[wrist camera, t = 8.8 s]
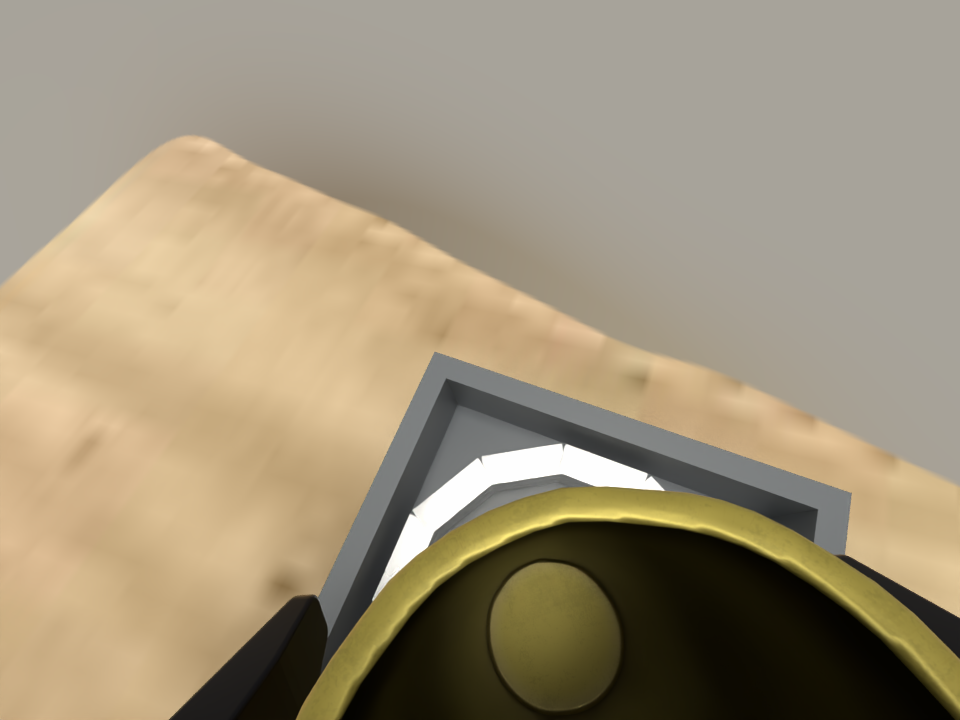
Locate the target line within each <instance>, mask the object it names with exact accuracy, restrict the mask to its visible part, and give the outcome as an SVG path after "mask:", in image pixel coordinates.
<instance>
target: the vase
mask: <svg viewBox="0 0 960 720" xmlns="http://www.w3.org/2000/svg"><path fill="white" fill-rule="evenodd" d="M296 720H960V659H959V658H958V657H957V656H956V655H955V654H954V653H953V652H952V651H951V650H950V649H949V648H948V647H947V646H946V645H945V644H944V643H943V642H942V641H941V640H940V639H939V638H938V637H937V636H936V635H935V634H934V633H933V632H932V631H931V630H930V629H929V628H928V627H927V626H926V625H925V624H924V623H923V622H922V621H921V620H920V619H919V618H918V617H917V616H916V615H915V614H914V613H913V612H912V611H911V610H909V609H908V608H907V607H906V606H904V605H903V604H902V603H901V602H899V601H898V600H897V599H896V598H895V597H893V596H892V595H891V594H890V593H888V592H887V591H886V590H885V589H884V588H882V587H881V586H880V585H879V584H877V583H876V582H875V581H873V580H872V579H870V578H868V577H867V576H865V575H864V574H862V573H861V572H859V571H858V570H856V569H855V568H853V567H852V566H850V565H848V564H847V563H845V562H844V561H842V560H841V559H839V558H838V557H836V556H835V555H833V554H831V553H830V552H828V551H826V550H825V549H823V548H821V547H820V546H818V545H816V544H815V543H813V542H811V541H810V540H808V539H807V538H805V537H803V536H802V535H800V534H798V533H797V532H795V531H793V530H791V529H789V528H787V527H785V526H783V525H781V524H779V523H777V522H775V521H773V520H771V519H769V518H767V517H765V516H763V515H761V514H759V513H757V512H755V511H753V510H750V509H747V508H744V507H741V506H738V505H735V504H732V503H729V502H727V501H724V500H720V499H715V498H711V497H706V496H701V495H696V494H692V493H686V492H674V491H662V490H650V489H637V488H624V487H610V486H593V487H568V488H558V489H555V490H551V491H547V492H543V493H539V494H535V495H531V496H527V497H524V498H521V499H518V500H516V501H513V502H510V503H508V504H505V505H503V506H500V507H497V508H495V509H492V510H489V511H487V512H486V513H484V514H482V515H480V516H478V517H476V518H474V519H473V520H471V521H469V522H467V523H465V524H463V525H461V526H459V527H458V528H456V529H454V530H452V531H450V532H449V533H447V534H446V535H445V536H443V537H442V538H440V539H439V540H438V541H436V542H435V543H433V544H432V545H430V546H429V547H428V548H426V549H425V550H423V551H422V552H420V553H419V554H418V555H416V556H415V557H414V558H413V559H412V560H411V561H410V562H409V563H407V564H406V565H405V566H404V567H403V568H402V569H401V570H400V571H399V572H398V573H397V574H396V575H394V576H393V577H392V578H391V579H390V580H389V581H388V582H387V584H386V585H385V586H384V588H383V589H382V590H381V592H380V593H379V594H378V596H377V597H376V598H375V600H374V601H373V602H372V603H371V605H370V606H369V607H368V609H367V610H366V611H365V613H364V614H363V615H362V617H361V618H360V619H359V621H358V622H357V623H356V625H355V626H354V628H353V629H352V630H351V632H350V633H349V635H348V636H347V637H346V639H345V640H344V642H343V643H342V644H341V646H340V647H339V648H338V650H337V651H336V653H335V654H334V655H333V657H332V658H331V660H330V661H329V663H328V664H327V666H326V668H325V669H324V671H323V672H322V674H321V676H320V677H319V679H318V680H317V682H316V684H315V685H314V687H313V688H312V690H311V692H310V693H309V695H308V696H307V698H306V700H305V701H304V703H303V705H302V707H301V709H300V711H299V714H298V716H297V718H296Z"/></svg>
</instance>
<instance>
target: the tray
mask: <svg viewBox="0 0 960 720" xmlns="http://www.w3.org/2000/svg"><path fill="white" fill-rule="evenodd" d="M555 444H562V448H563V451H564V448H565V445H566V444H567V445H570V446H573V447H576V448H578V449H581V450H584V451H587V452H589V453H592V454H595V455H598V456H600V457H603V458H606V459H609V460H611V461H614V462H617V463H620V464H622V465H625V466H628V467H630V468H633V469H636V470H639V471H641V472H644V473H647V477H646V480H647V479H648V478H650V477H651V476H652V477H653V479H654V480H655V481H656V482H657V483H658V484H659V485H660V486H661V487H662V488H663V489H664V490H665V491H674V492H686V493H692V494H696V495H701V496H706V497H711V498H715V499H720V500H724V501H727V502H729V503H732V504H735V505H738V506H741V507H744V508H747V509H750V510H753V511H755V512H757V513H759V514H761V515H763V516H765V517H767V518H769V519H771V520H773V521H775V522H777V523H779V524H781V525H783V526H785V527H787V528H789V529H791V530H793V531H795V532H797V533H798V534H800V535H802V536H803V537H805V538H807V539H808V540H810V541H811V542H813V543H815V544H816V545H818V546H820V547H821V548H823V549H825V550H826V551H828V552H830V553H831V554H833V555H838V554H842V555H845V548H846V539H847V530H848V521H849V512H850V503H851V494H852V493H849V492H846V491H843V490H841V489H838V488H835V487H832V486H829V485H826V484H823V483H820V482H817V481H814V480H811V479H808V478H805V477H802V476H799V475H796V474H793V473H790V472H787V471H785V470H782V469H779V468H776V467H773V466H770V465H767V464H764V463H761V462H758V461H755V460H752V459H749V458H746V457H743V456H740V455H737V454H734V453H732V452H729V451H726V450H723V449H720V448H717V447H714V446H711V445H708V444H705V443H702V442H699V441H696V440H693V439H690V438H687V437H684V436H681V435H679V434H676V433H673V432H670V431H667V430H664V429H661V428H658V427H655V426H652V425H649V424H646V423H643V422H640V421H637V420H634V419H631V418H628V417H626V416H623V415H620V414H617V413H614V412H611V411H608V410H605V409H602V408H599V407H596V406H593V405H590V404H587V403H584V402H581V401H578V400H575V399H572V398H570V397H567V396H564V395H561V394H558V393H555V392H552V391H549V390H546V389H543V388H540V387H537V386H534V385H531V384H528V383H525V382H522V381H519V380H517V379H514V378H511V377H508V376H505V375H502V374H499V373H496V372H493V371H490V370H487V369H484V368H481V367H478V366H475V365H472V364H469V363H466V362H464V361H461V360H458V359H455V358H452V357H449V356H446V355H443V354H440V353H437V352H434V355H433V357H432V359H431V361H430V363H429V365H428V367H427V369H426V371H425V374H424V376H423V378H422V380H421V382H420V384H419V386H418V388H417V390H416V393H415V395H414V397H413V399H412V401H411V403H410V405H409V407H408V409H407V412H406V414H405V416H404V418H403V420H402V422H401V424H400V426H399V428H398V431H397V433H396V435H395V437H394V439H393V441H392V443H391V445H390V447H389V449H388V452H387V454H386V456H385V458H384V460H383V462H382V464H381V466H380V468H379V471H378V473H377V475H376V477H375V479H374V481H373V483H372V485H371V487H370V490H369V492H368V494H367V496H366V498H365V500H364V502H363V504H362V506H361V509H360V511H359V513H358V515H357V517H356V519H355V521H354V523H353V525H352V528H351V530H350V532H349V534H348V536H347V538H346V540H345V542H344V544H343V546H342V549H341V551H340V553H339V555H338V557H337V559H336V561H335V563H334V565H333V568H332V570H331V572H330V574H329V576H328V578H327V580H326V582H325V584H324V587H323V589H322V591H321V593H320V595H319V597H318V599H319V601H320V604H321V607H322V610H323V613H324V616H325V619H326V622H327V626H328V639H327V644H326V649H325V654H324V659H323V664H322V669H321V674H322V672H323V671H324V669H325V668H326V666H327V664H328V663H329V661H330V660H331V658H332V657H333V655H334V654H335V653H336V651H337V650H338V648H339V647H340V646H341V644H342V643H343V642H344V640H345V639H346V637H347V636H348V635H349V633H350V632H351V630H352V629H353V628H354V626H355V625H356V623H357V622H358V621H359V619H360V618H361V617H362V615H363V614H364V613H365V611H366V610H367V609H368V607H369V606H370V605H371V603H372V602H373V601H372V599H373V597H374V595H375V592H376V590H377V588H378V586H379V583H380V581H381V579H382V576H383V574H384V572H385V570H386V567H387V565H388V563H389V560H390V558H391V556H392V553H393V551H394V549H395V547H396V544H397V542H398V540H399V537H400V535H401V533H402V531H403V528H404V526H405V524H406V521H407V519H408V517H409V514H411V515H414V516H416V515H415V513H414V512H413V511H412V510H414V509H415V508H416V507H417V506H419V505H420V504H421V503H422V502H424V501H425V500H426V499H427V498H429V497H430V496H431V495H432V494H433V493H435V492H436V491H437V490H438V489H440V488H441V487H442V486H443V485H445V484H446V483H447V482H448V481H450V480H451V479H452V478H453V477H455V476H456V475H457V474H458V473H460V472H461V471H462V470H463V469H465V468H466V467H467V466H468V465H470V464H471V463H472V462H473V461H475V460H476V459H477V458H478V459H479V460H480V461H481V463H482V456H486V455H493V454H499V453H505V452H511V451H518V450H524V449H530V448H537V447H543V446H549V445H555ZM482 464H483V463H482ZM568 487H569V486H566V485H563V484H561V483H553V484H547V485H540V486H534V487H527V488H521V489H515V490H508V491H502V492H496V493H494V494H493V495H492V496H490V497H489V498H488V499H487V500H486V501H484V502H483V503H482V504H481V505H480V506H478V507H477V508H476V509H475V510H474V511H472V512H471V513H470V514H469V515H467V516H466V517H465V518H464V519H463V520H461V521H460V522H459V523H458V524H457V525H455V526H454V527H453V528H452V529H451V530H449V531H448V532H447V533H449V532H450V531H452V530H454V529H456V528H458V527H459V526H461V525H463V524H465V523H467V522H469V521H471V520H473V519H474V518H476V517H478V516H480V515H482V514H484V513H486V512H487V511H489V510H492V509H495V508H497V507H500V506H503V505H505V504H508V503H510V502H513V501H516V500H518V499H521V498H524V497H527V496H531V495H535V494H539V493H543V492H547V491H551V490H555V489H558V488H568ZM416 517H417V516H416ZM447 533H446V534H447ZM446 534H444V536H445V535H446ZM321 674H320V676H321Z"/></svg>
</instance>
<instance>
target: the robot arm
mask: <svg viewBox="0 0 960 720" xmlns="http://www.w3.org/2000/svg"><path fill="white" fill-rule="evenodd" d="M835 556H836V557H838V558H839V559H841V560H842V561H844V562H845V563H847V564H848V565H850V566H852V567H853V568H855V569H856V570H858V571H859V572H861V573H862V574H864V575H865V576H867V577H868V578H870V579H872V580H873V581H875V582H876V583H877V584H879V585H880V586H881V587H882V588H884V589H885V590H886V591H887V592H888V593H890V594H891V595H892V596H893V597H895V598H896V599H897V600H898V601H899V602H901V603H902V604H903V605H904V606H906V607H907V608H908V609H909V610H911V611H912V612H913V613H914V614H915V615H916V616H917V617H918V618H919V619H920V620H921V621H922V622H923V623H924V624H925V625H926V626H927V627H928V628H929V629H930V630H931V631H932V632H933V633H934V634H935V635H936V636H937V637H938V638H939V639H940V640H941V641H942V642H943V643H944V644H945V645H946V646H947V647H948V648H949V649H950V650H951V651H952V652H953V653H954V654H955V655H956V656H957V657H958V658H959V659H960V618H959V617H957V616H955V615H953V614H952V613H950V612H948V611H946V610H944V609H943V608H941V607H939V606H937V605H935V604H934V603H932V602H930V601H928V600H926V599H925V598H923V597H921V596H919V595H917V594H916V593H914V592H912V591H910V590H909V589H907V588H905V587H903V586H901V585H900V584H898V583H896V582H894V581H892V580H891V579H889V578H887V577H885V576H883V575H882V574H880V573H878V572H876V571H874V570H873V569H871V568H869V567H867V566H865V565H864V564H862V563H860V562H858V561H856V560H855V559H853V558H851V557H849V556H846V555H842V554H838V555H835ZM327 639H328V626H327V622H326V619H325V616H324V613H323V610H322V607H321V604H320V601H319V599H318V597H317V596H316V595H300V596H295V597H293V598H292V599H290V600H289V601H288V602H287V603H286V604H285V605H284V606H283V607H282V608H281V609H280V610H279V611H278V612H277V613H276V614H275V615H274V616H273V617H272V618H271V619H270V620H269V621H268V622H267V623H266V624H265V625H264V626H263V627H262V628H261V629H260V630H259V631H258V632H257V633H256V634H255V635H254V636H253V637H252V638H251V639H250V640H249V641H248V642H247V643H246V644H245V645H244V646H243V647H242V648H241V649H240V650H239V651H238V652H237V653H236V654H235V655H234V656H233V657H232V658H231V659H230V660H229V661H228V662H227V663H226V664H225V665H224V666H223V667H222V668H221V669H220V670H219V671H218V672H217V673H216V674H215V675H214V676H213V677H212V678H211V679H209V680H208V681H207V682H206V683H205V684H204V685H203V686H202V687H201V688H200V689H199V690H198V691H197V692H196V693H195V694H194V695H193V696H192V697H191V698H190V699H189V700H188V701H187V702H186V703H185V704H184V705H183V706H182V707H181V708H180V709H179V710H178V711H177V712H176V713H175V714H174V715H173V716H172V717H171V718H170V719H169V720H296V718H297V716H298V714H299V711H300V709H301V707H302V705H303V703H304V701H305V700H306V698H307V696H308V695H309V693H310V692H311V690H312V688H313V687H314V685H315V684H316V682H317V680H318V679H319V677H320V674H321V669H322V664H323V659H324V654H325V649H326V644H327Z"/></svg>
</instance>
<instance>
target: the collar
mask: <svg viewBox="0 0 960 720" xmlns="http://www.w3.org/2000/svg"><path fill="white" fill-rule="evenodd" d="M482 463H483V464H482ZM482 463H481V461H480V460H479V459H478V458H477V459H476V460H475V461H473V462H472V463H471V464H470V465H468V466H467V467H466V468H465V469H463V470H462V471H461V472H460V473H458V474H457V475H456V476H455V477H453V478H452V479H451V480H450V481H448V482H447V483H446V484H445V485H443V486H442V487H441V488H440V489H438V490H437V491H436V492H435V493H433V494H432V495H431V496H430V497H429V498H427V499H426V500H425V501H424V502H422V503H421V504H420V505H419V506H417V507H416V508H415V509H414V510H412V511H413V512H414V513H415V515H416V516H417V517H416V516H414V515H411V514H409V517H408V519H407V521H406V524H405V526H404V528H403V531H402V533H401V535H400V537H399V540H398V542H397V544H396V547H395V549H394V551H393V553H392V556H391V558H390V560H389V563H388V565H387V567H386V570H385V572H384V574H383V576H382V579H381V581H380V583H379V586H378V588H377V590H376V592H375V595H374V597H373V599H372V601H374V600H375V598H376V597H377V596H378V594H379V593H380V592H381V590H382V589H383V588H384V586H385V585H386V584H387V582H388V581H389V580H390V579H391V578H392V577H393V576H394V575H396V574H397V573H398V572H399V571H400V570H401V569H402V568H403V567H404V566H405V565H406V564H407V563H409V562H410V561H411V560H412V559H413V558H414V557H415V556H416V555H418V554H419V553H420V552H422V551H423V550H425V549H426V548H428V547H429V546H430V545H432V544H433V543H435V542H436V541H438V540H439V539H440V538H442V537H443V536H444V534H446V533H447V532H448V531H449V530H451V529H452V528H453V527H454V526H455V525H457V524H458V523H459V522H460V521H461V520H463V519H464V518H465V517H466V516H467V515H469V514H470V513H471V512H472V511H474V510H475V509H476V508H477V507H478V506H480V505H481V504H482V503H483V502H484V501H486V500H487V499H488V498H489V497H490V496H492V495H493V494H494V493H496V492H502V491H508V490H515V489H521V488H527V487H534V486H540V485H547V484H553V483H561V484H563V485H566V486H569V487H593V486H610V487H624V488H637V489H650V490H662V491H665V490H664V489H663V488H662V487H661V486H660V485H659V484H658V483H657V482H656V481H655V480H654V479H653V477H652V476H651V477H650V478H648V479H647V480H646V477H647V473H644V472H641V471H639V470H636V469H633V468H630V467H628V466H625V465H622V464H620V463H617V462H614V461H611V460H609V459H606V458H603V457H600V456H598V455H595V454H592V453H589V452H587V451H584V450H581V449H578V448H576V447H573V446H570V445H567V444H566V445H565V448H564V451H563V448H562V444H555V445H549V446H543V447H537V448H530V449H524V450H518V451H511V452H505V453H499V454H493V455H486V456H482Z"/></svg>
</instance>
